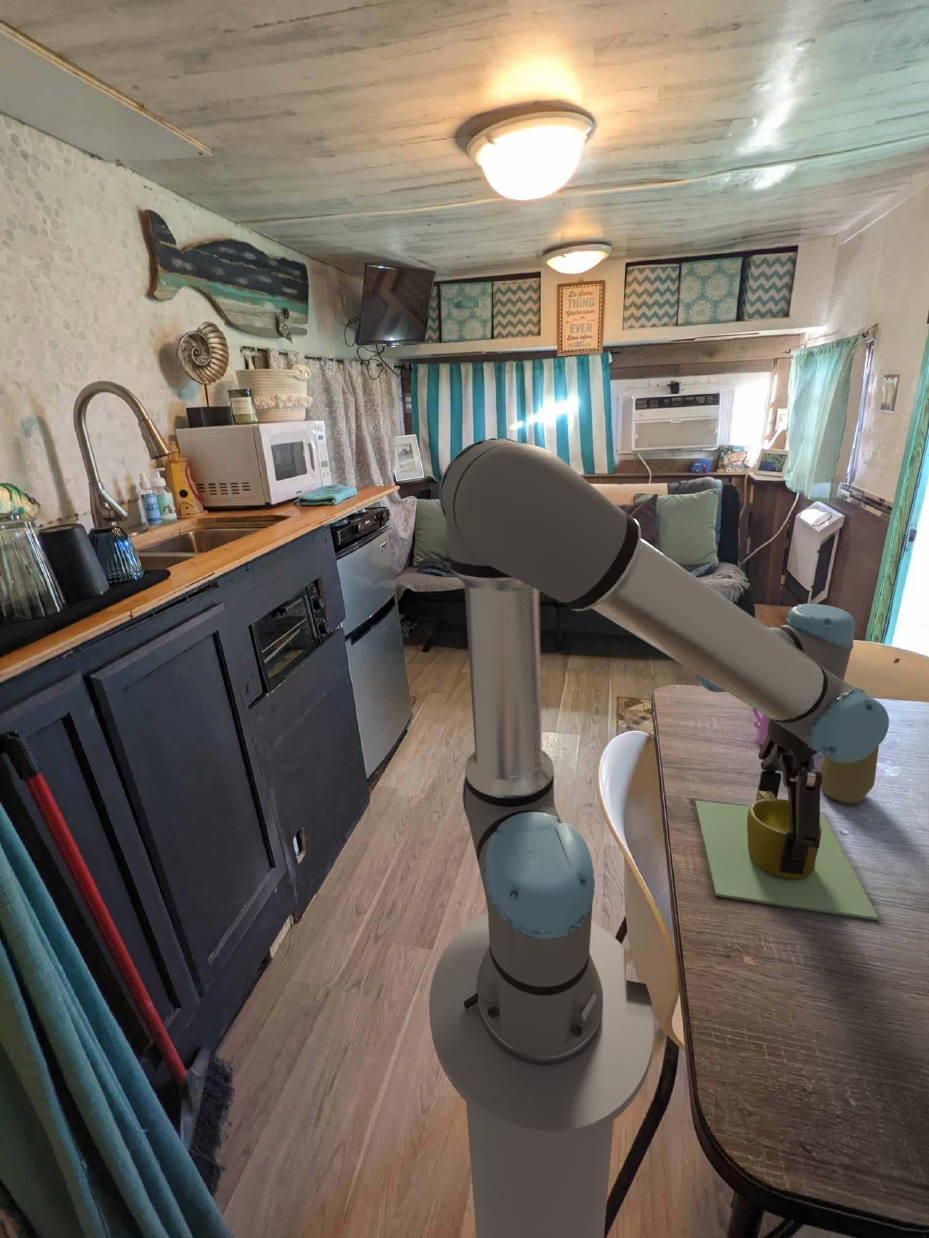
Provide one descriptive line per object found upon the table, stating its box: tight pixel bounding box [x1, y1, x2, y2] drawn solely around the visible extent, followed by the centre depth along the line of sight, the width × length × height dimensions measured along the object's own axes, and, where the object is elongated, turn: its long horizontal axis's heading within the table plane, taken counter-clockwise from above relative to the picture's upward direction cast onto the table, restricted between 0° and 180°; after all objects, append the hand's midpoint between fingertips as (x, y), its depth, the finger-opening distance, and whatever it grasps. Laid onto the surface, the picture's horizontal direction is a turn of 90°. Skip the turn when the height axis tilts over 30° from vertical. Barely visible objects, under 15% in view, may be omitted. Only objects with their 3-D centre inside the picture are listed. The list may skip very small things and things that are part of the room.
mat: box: [694, 800, 879, 921], centre depth 84 cm, size 20×20×1 cm
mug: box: [747, 790, 822, 880], centre depth 82 cm, size 12×10×10 cm
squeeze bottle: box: [817, 744, 880, 804], centre depth 92 cm, size 8×8×18 cm
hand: (776, 836), depth 83 cm, fingers open, 13 cm apart
